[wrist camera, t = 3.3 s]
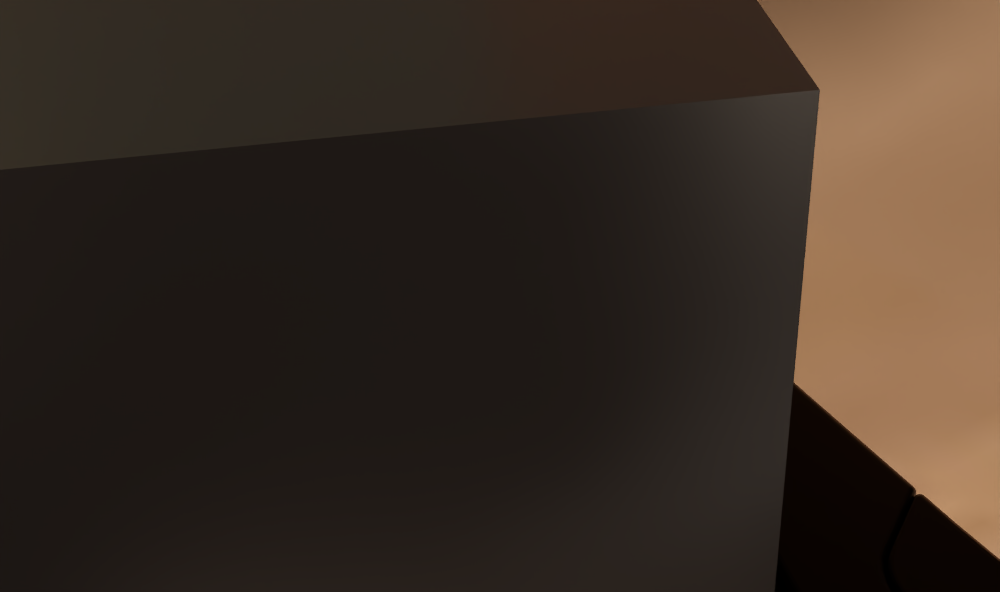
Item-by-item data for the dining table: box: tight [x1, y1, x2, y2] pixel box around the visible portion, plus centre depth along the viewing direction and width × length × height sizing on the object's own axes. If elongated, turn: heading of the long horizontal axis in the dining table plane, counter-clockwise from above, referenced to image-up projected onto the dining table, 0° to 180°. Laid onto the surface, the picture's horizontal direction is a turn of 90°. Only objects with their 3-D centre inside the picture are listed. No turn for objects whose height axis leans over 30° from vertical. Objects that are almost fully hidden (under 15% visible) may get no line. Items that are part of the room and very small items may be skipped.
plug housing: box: [0, 0, 820, 592], centre depth 7 cm, size 4×9×6 cm, turn 7°
